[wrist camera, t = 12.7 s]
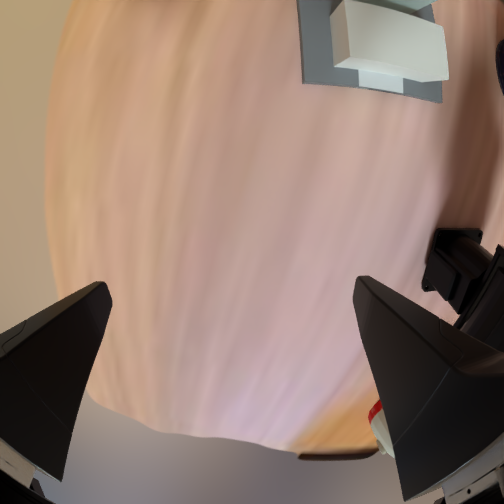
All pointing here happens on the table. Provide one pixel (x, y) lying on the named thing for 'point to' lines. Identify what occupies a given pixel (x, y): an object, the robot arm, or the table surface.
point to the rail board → (322, 55)
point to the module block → (400, 4)
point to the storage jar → (500, 64)
